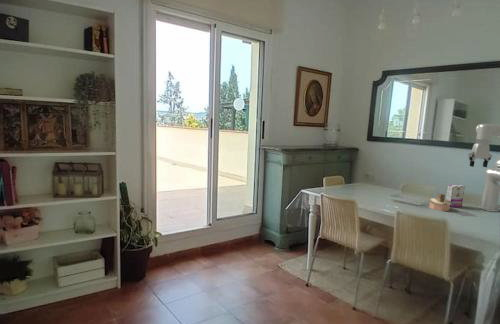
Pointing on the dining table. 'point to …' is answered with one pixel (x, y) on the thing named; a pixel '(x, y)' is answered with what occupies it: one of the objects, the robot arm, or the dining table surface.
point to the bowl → (439, 207)
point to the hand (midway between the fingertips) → (478, 166)
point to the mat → (464, 213)
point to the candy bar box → (455, 195)
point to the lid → (440, 200)
